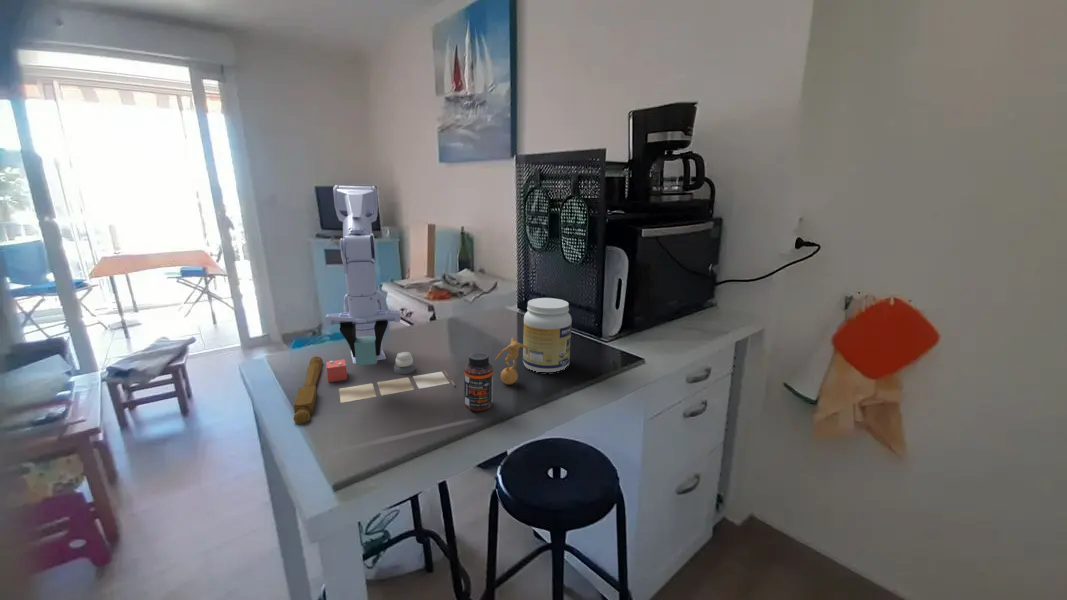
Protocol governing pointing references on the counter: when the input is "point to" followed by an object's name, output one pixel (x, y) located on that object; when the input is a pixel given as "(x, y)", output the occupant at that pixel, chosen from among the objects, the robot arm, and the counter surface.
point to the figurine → (510, 373)
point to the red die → (336, 370)
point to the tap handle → (307, 392)
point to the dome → (404, 359)
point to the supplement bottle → (478, 382)
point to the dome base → (404, 369)
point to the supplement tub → (547, 335)
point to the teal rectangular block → (365, 350)
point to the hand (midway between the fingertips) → (367, 354)
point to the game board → (393, 386)
